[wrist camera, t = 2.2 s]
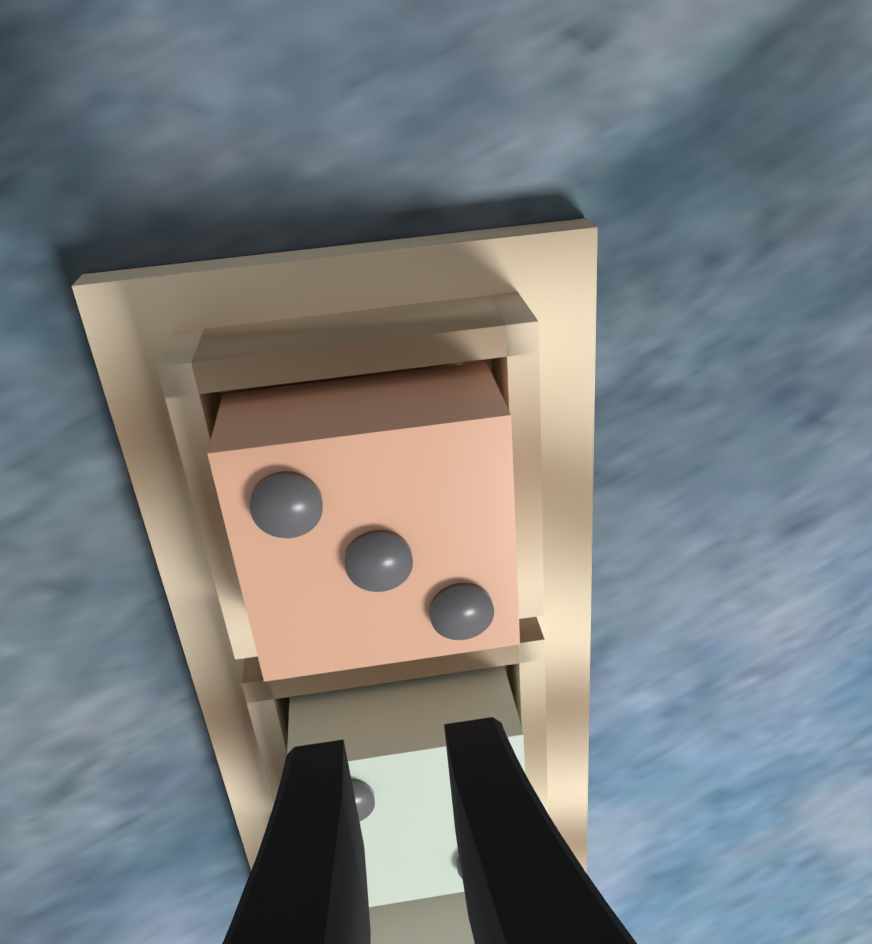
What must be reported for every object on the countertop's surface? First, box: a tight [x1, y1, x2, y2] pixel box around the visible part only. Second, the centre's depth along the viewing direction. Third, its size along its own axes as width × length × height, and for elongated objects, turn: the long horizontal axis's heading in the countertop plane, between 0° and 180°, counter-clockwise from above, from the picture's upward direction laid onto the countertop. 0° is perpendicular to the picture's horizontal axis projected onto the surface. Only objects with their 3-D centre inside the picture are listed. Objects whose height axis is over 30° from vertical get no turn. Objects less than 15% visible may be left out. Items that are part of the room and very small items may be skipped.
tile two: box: [287, 666, 525, 907], centre depth 19 cm, size 5×5×3 cm
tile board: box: [72, 218, 597, 872], centre depth 21 cm, size 24×10×3 cm, turn 5°
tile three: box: [207, 362, 520, 682], centre depth 16 cm, size 5×5×3 cm
